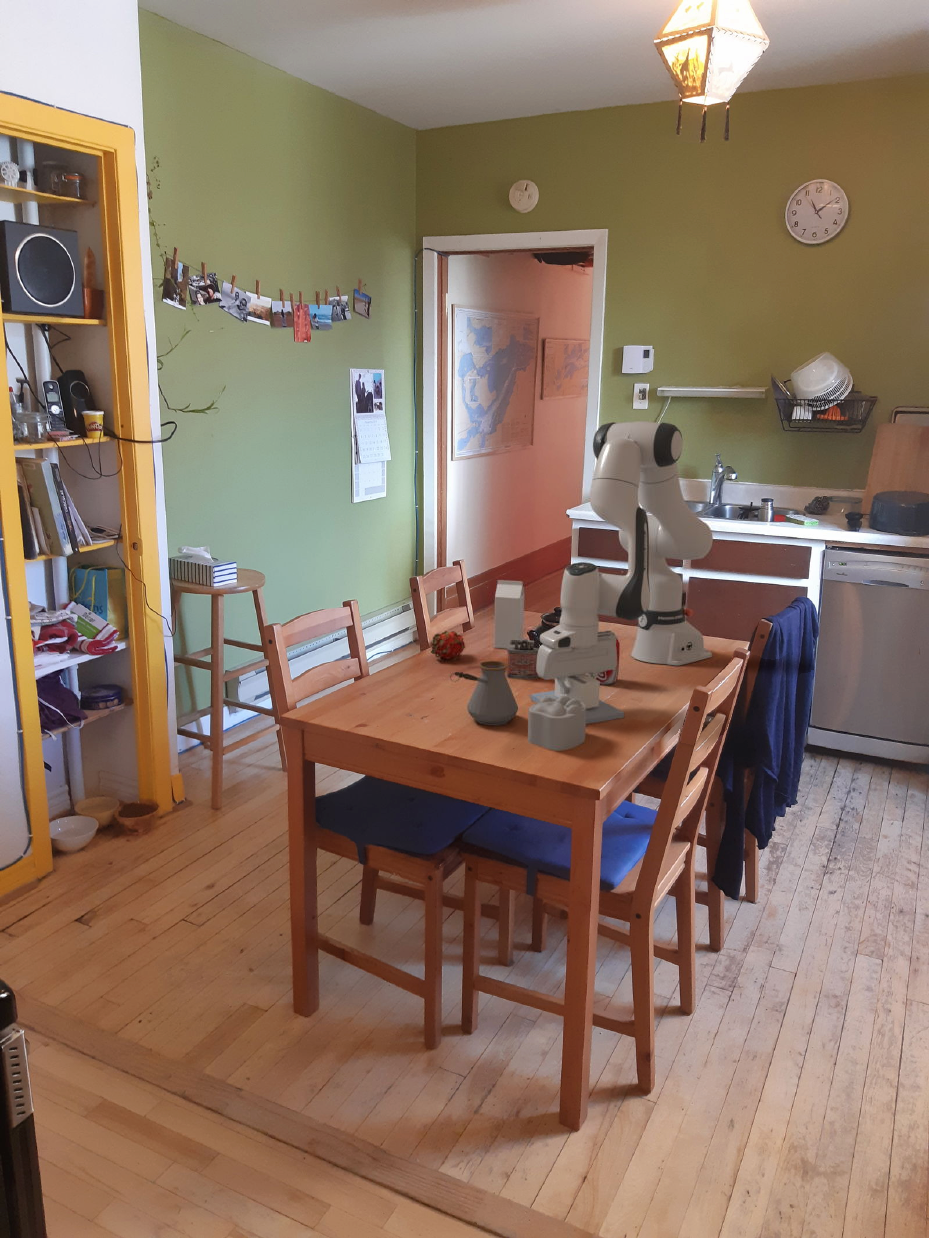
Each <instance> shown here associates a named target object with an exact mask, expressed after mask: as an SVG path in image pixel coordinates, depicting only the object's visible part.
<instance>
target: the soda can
mask: <svg viewBox="0 0 929 1238" xmlns="http://www.w3.org/2000/svg"><path fill="white" fill-rule="evenodd" d="M615 635H616V650H617V666H616V667H615V669H613V670H607V671H600V672H598V676H597V678H596V680H598V681H600V685H612V684H615V682H617V680H618V677H619V671H620V670H619V669H620V649H621V647H620V646H621V645H620V641H619V639H618V638H619V636H618V635H617V634H615Z"/></svg>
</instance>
